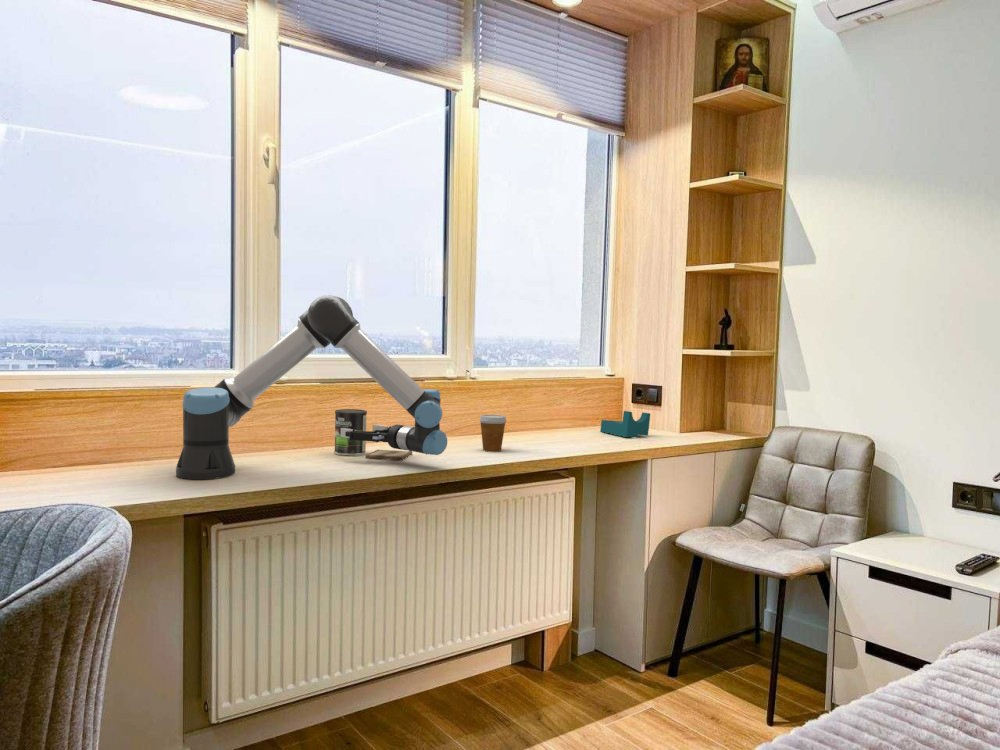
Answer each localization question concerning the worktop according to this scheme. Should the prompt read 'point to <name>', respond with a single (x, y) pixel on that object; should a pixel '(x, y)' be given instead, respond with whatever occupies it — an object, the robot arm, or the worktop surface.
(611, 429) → the teal l-shaped bracket
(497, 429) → the disposable coffee cup
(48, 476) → the worktop surface
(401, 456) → the trivet
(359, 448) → the coffee can
